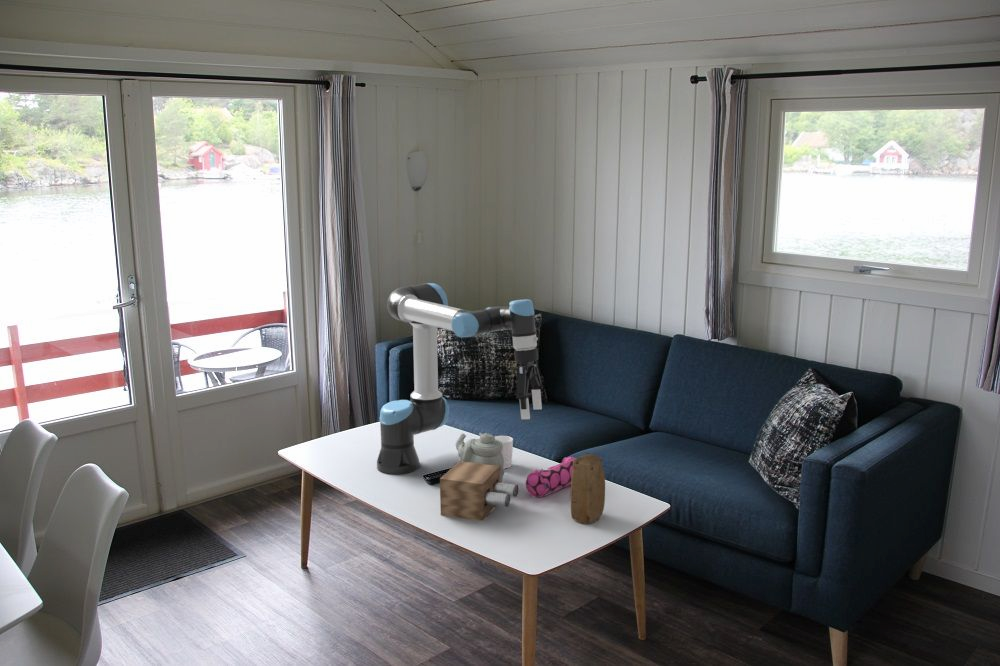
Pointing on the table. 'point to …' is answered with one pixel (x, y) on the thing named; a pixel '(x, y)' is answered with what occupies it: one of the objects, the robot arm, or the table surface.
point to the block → (587, 489)
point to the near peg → (497, 499)
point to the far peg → (506, 489)
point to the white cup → (506, 449)
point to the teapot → (481, 451)
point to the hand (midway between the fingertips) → (531, 414)
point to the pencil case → (550, 478)
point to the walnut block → (467, 490)
